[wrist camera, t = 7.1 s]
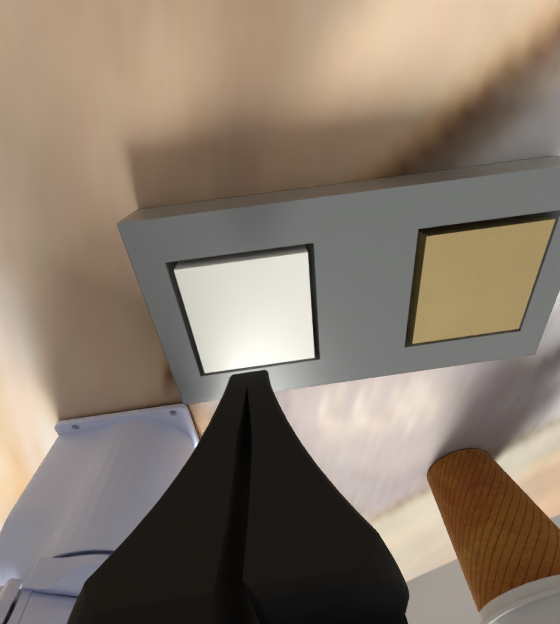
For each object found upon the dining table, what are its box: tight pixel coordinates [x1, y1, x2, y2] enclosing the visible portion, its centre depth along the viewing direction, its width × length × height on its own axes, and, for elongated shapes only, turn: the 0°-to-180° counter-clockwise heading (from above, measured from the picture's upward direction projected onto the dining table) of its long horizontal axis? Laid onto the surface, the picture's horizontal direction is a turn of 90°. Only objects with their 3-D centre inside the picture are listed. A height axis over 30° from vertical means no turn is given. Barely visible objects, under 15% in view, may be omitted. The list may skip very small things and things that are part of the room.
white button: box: [174, 244, 315, 373], centre depth 17 cm, size 6×6×3 cm
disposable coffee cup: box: [427, 449, 560, 624], centre depth 25 cm, size 10×10×12 cm
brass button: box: [406, 213, 555, 344], centre depth 18 cm, size 6×6×3 cm
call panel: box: [117, 156, 560, 405], centre depth 18 cm, size 22×11×3 cm, turn 96°
